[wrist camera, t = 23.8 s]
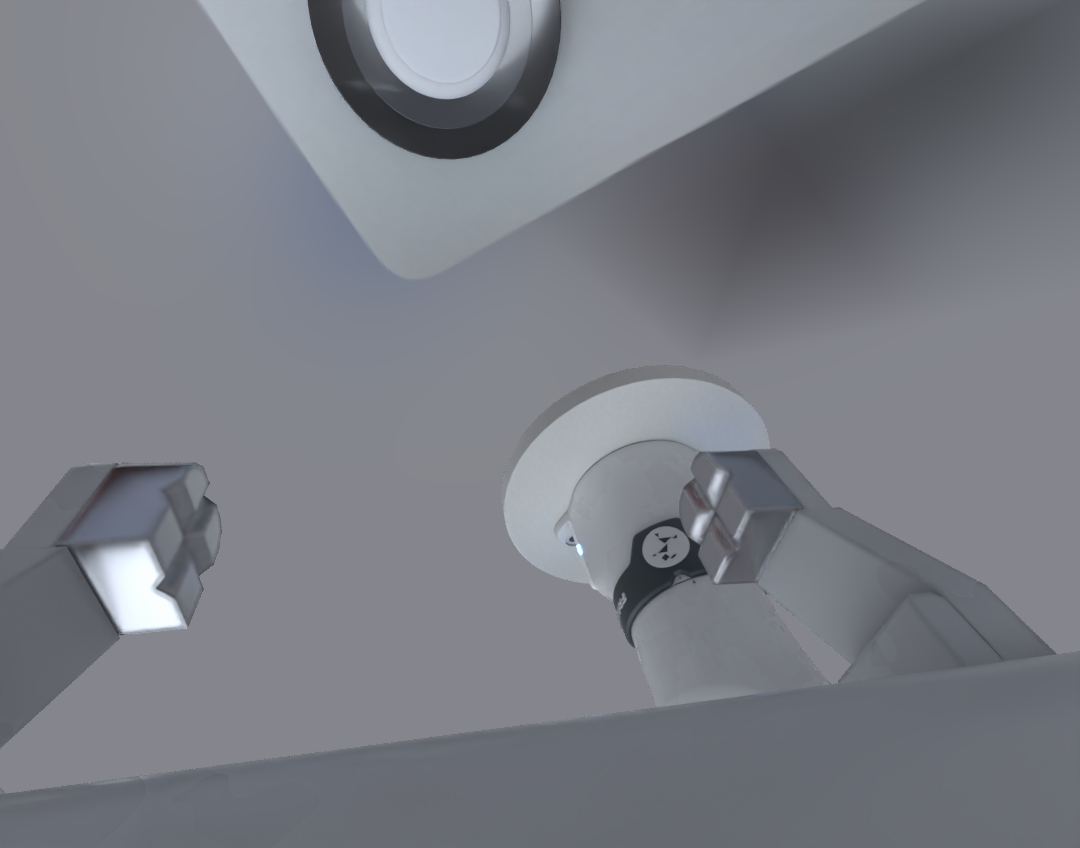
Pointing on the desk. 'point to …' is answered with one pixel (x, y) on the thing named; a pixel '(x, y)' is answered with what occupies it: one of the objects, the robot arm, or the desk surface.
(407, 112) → the hot plate
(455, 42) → the supplement bottle
